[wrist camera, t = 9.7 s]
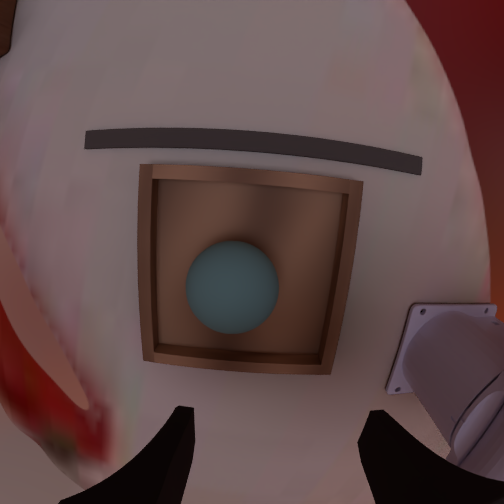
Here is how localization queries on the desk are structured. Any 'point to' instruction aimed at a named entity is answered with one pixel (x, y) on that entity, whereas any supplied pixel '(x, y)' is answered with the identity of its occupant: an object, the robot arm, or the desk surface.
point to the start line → (253, 145)
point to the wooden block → (6, 24)
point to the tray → (262, 237)
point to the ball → (232, 287)
